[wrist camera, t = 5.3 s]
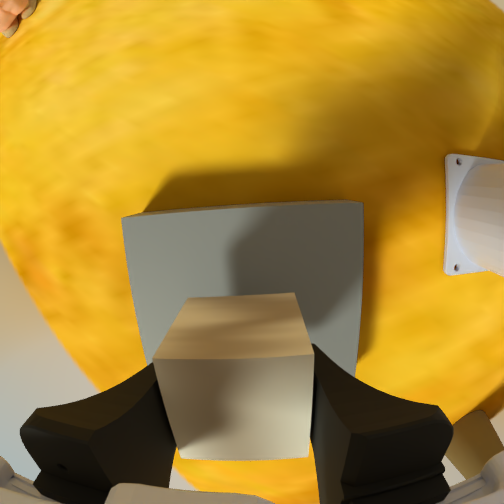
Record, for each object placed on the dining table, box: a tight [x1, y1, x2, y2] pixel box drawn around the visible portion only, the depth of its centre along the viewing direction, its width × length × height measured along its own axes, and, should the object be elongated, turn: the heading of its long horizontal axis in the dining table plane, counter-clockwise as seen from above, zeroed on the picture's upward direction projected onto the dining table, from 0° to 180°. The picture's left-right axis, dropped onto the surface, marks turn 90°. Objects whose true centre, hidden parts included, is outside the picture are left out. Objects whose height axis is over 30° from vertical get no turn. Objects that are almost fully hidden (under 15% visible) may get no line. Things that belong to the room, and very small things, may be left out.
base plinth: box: [121, 200, 364, 377], centre depth 17 cm, size 12×12×3 cm
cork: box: [445, 410, 504, 480], centre depth 16 cm, size 6×6×11 cm
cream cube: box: [152, 293, 314, 461], centre depth 11 cm, size 4×4×5 cm
